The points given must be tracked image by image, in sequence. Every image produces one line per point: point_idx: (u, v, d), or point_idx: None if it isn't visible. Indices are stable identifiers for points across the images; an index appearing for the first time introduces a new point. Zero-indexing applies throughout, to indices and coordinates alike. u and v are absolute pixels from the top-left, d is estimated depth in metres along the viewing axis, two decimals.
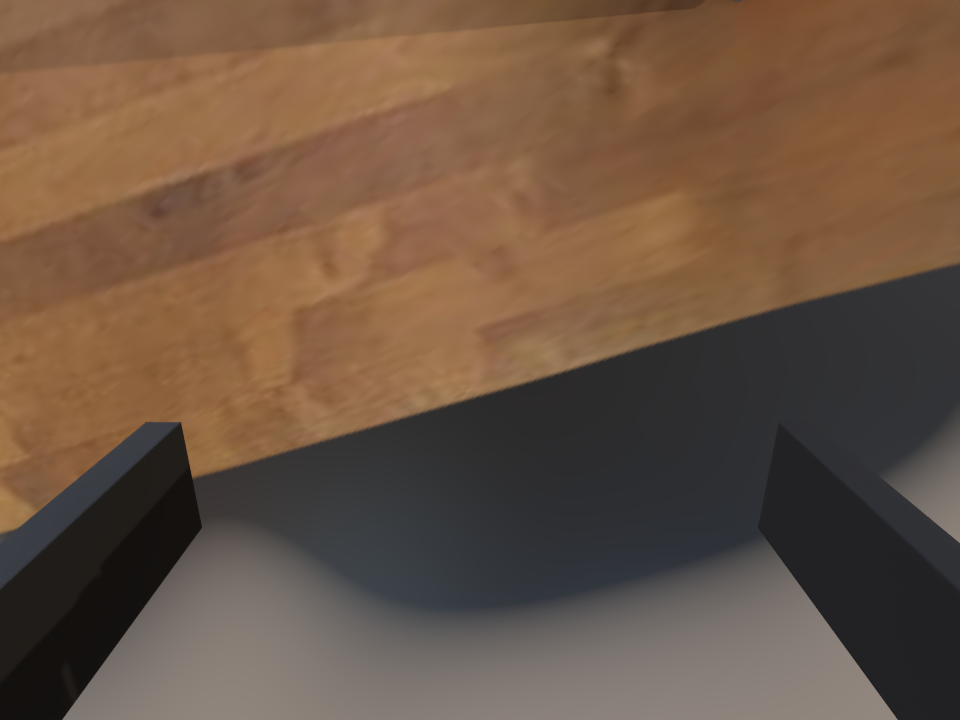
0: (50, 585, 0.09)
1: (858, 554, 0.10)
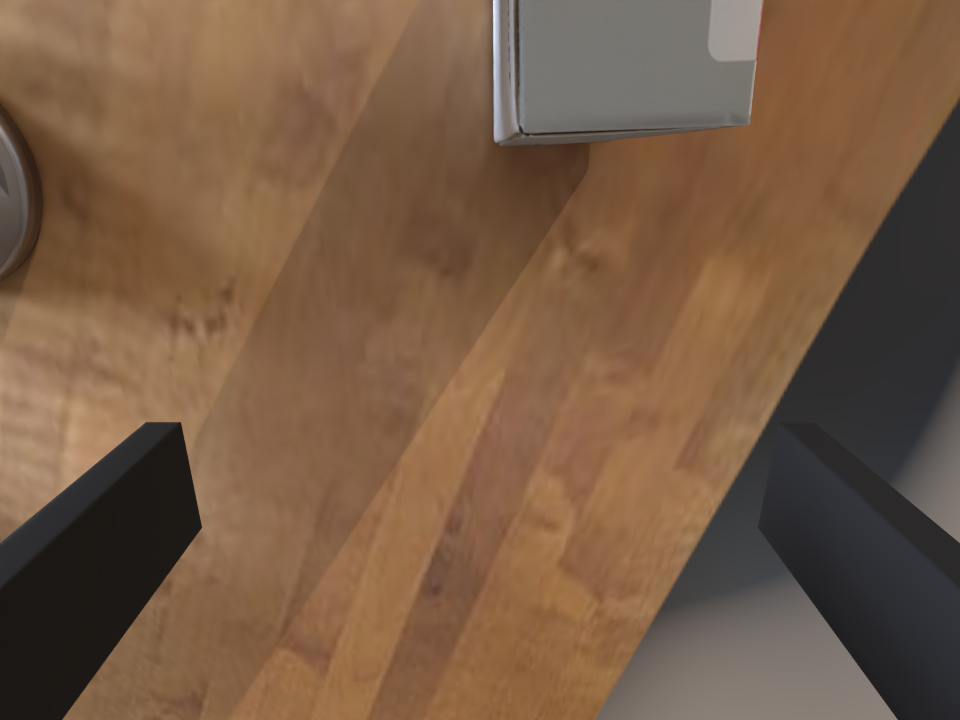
0: (50, 585, 0.09)
1: (858, 554, 0.10)
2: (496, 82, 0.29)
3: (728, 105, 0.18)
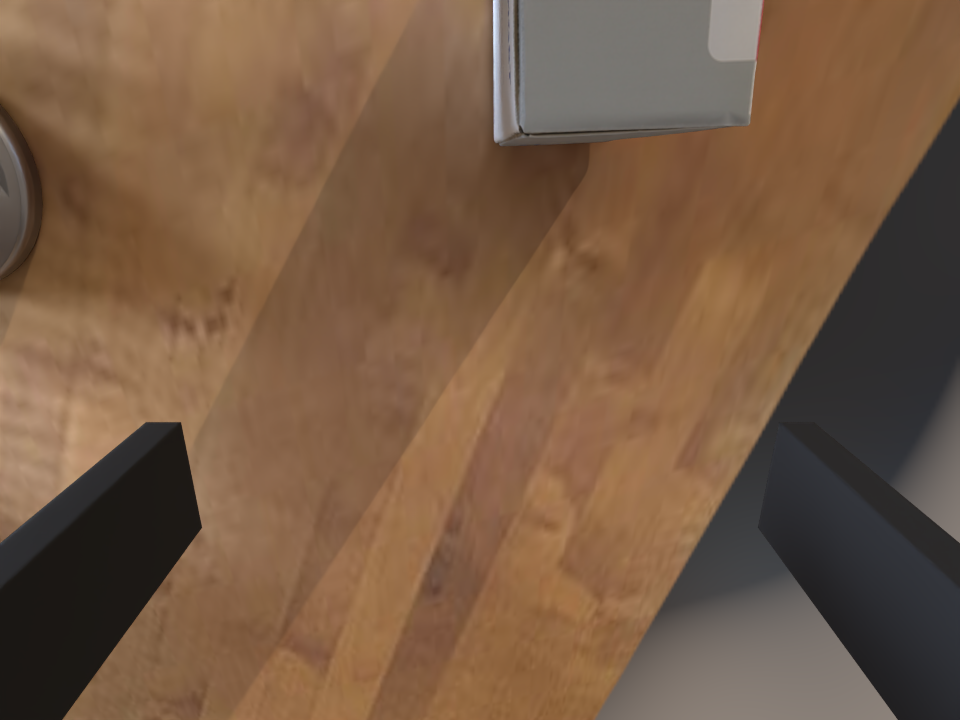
0: (50, 585, 0.09)
1: (858, 554, 0.10)
2: (496, 82, 0.29)
3: (728, 105, 0.18)
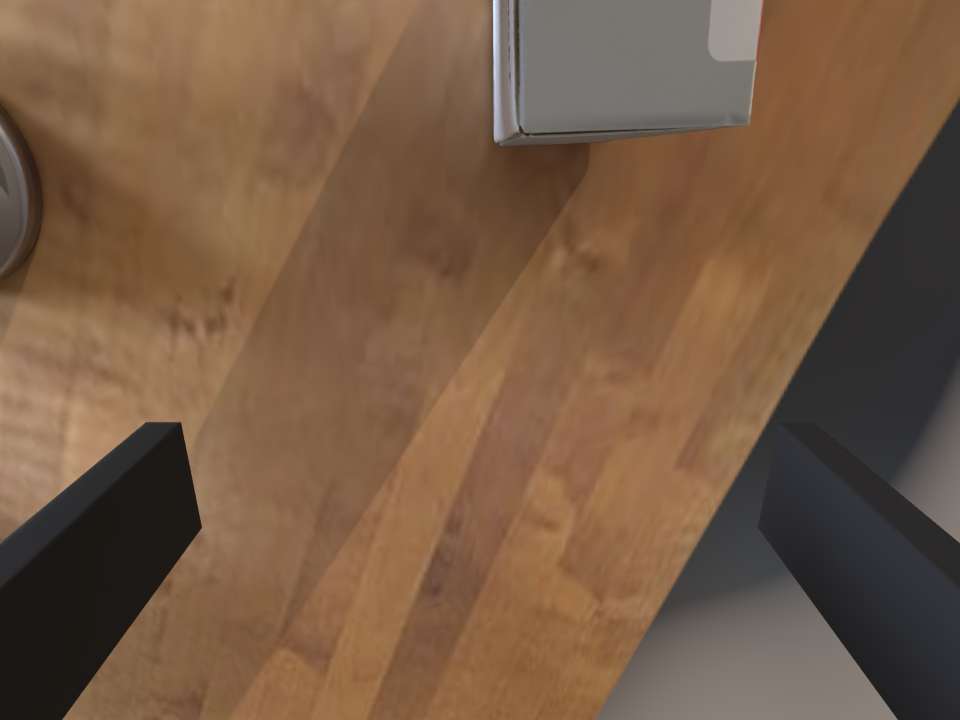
0: (50, 585, 0.09)
1: (858, 554, 0.10)
2: (496, 82, 0.29)
3: (728, 105, 0.18)
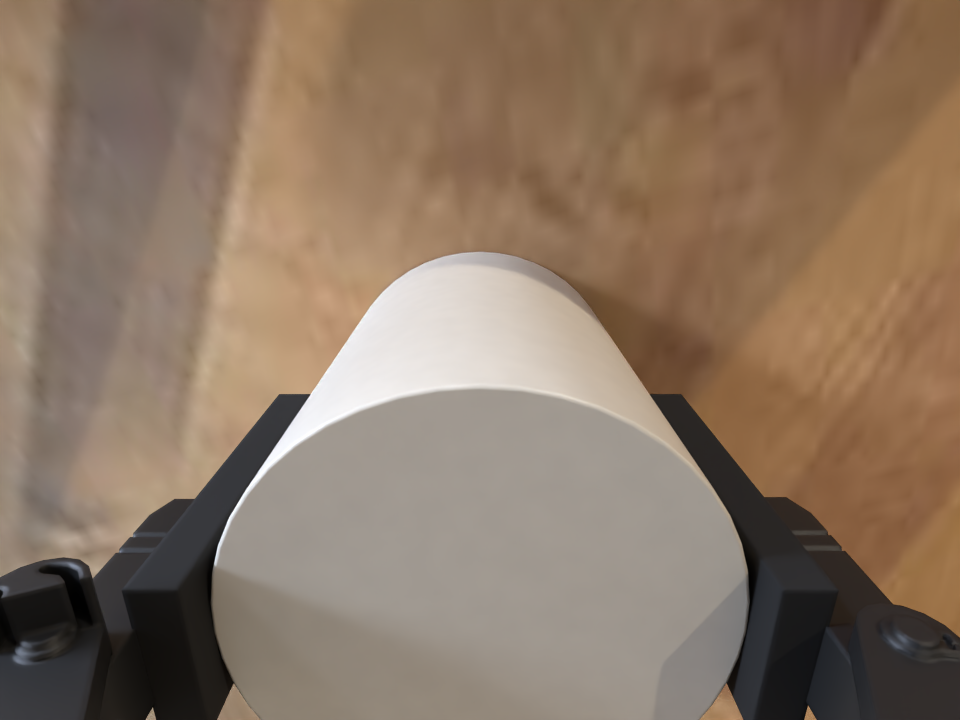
0: None
1: None
2: None
3: None
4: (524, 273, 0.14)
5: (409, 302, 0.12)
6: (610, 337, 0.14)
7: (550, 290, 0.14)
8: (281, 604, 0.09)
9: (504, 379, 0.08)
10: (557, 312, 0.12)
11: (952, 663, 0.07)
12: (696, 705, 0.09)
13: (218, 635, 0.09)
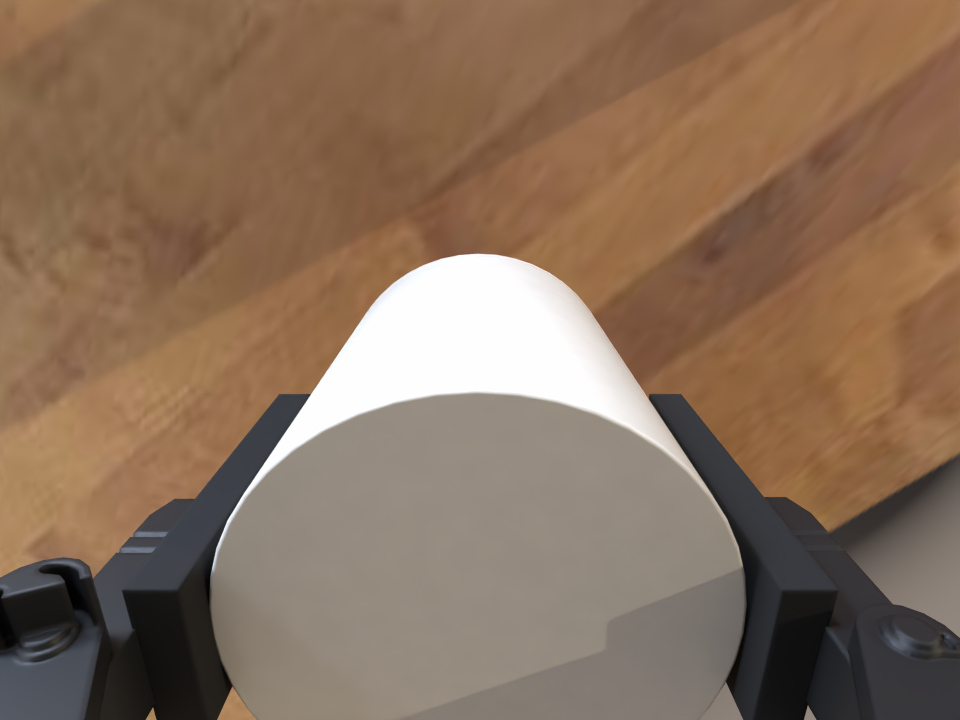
0: None
1: None
2: None
3: None
4: (523, 275, 0.15)
5: (408, 305, 0.12)
6: (608, 339, 0.14)
7: (548, 292, 0.14)
8: (278, 606, 0.09)
9: (501, 384, 0.08)
10: (555, 315, 0.12)
11: (952, 663, 0.07)
12: (693, 708, 0.09)
13: (216, 639, 0.09)
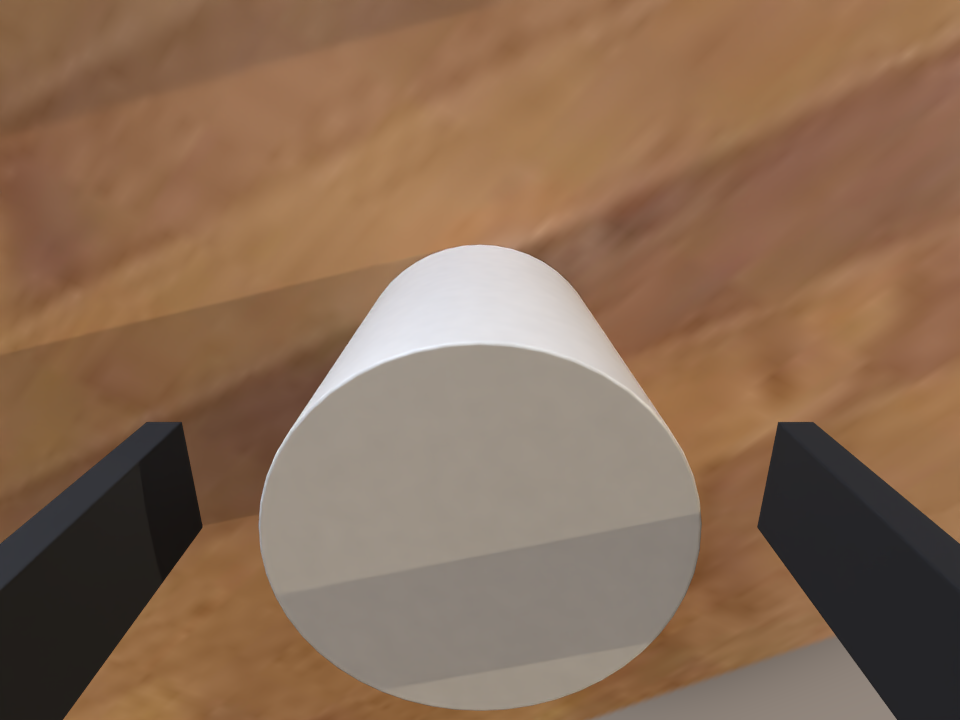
0: (51, 585, 0.09)
1: (857, 554, 0.10)
2: None
3: None
4: (519, 262, 0.16)
5: (418, 286, 0.14)
6: (594, 318, 0.16)
7: (541, 277, 0.16)
8: (316, 527, 0.10)
9: (499, 339, 0.09)
10: (546, 293, 0.14)
11: None
12: (660, 616, 0.11)
13: (263, 555, 0.11)
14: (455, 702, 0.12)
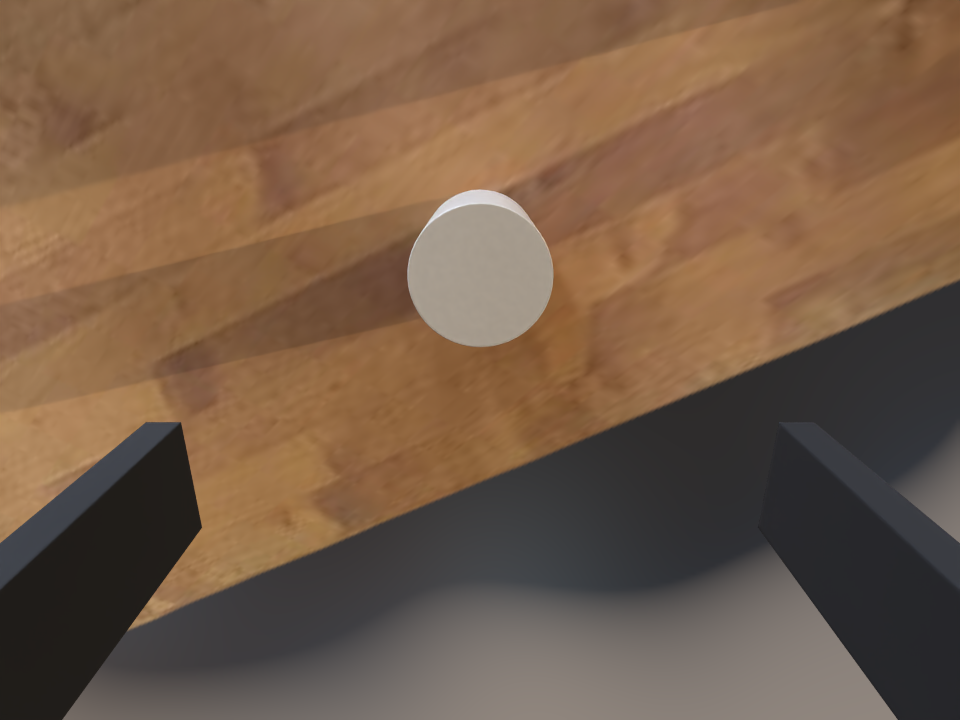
0: (50, 585, 0.09)
1: (858, 554, 0.10)
2: None
3: None
4: (497, 194, 0.38)
5: (455, 200, 0.36)
6: None
7: (506, 199, 0.37)
8: (426, 268, 0.32)
9: (486, 202, 0.31)
10: (506, 201, 0.35)
11: None
12: (542, 305, 0.33)
13: None
14: (471, 342, 0.33)
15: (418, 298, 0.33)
